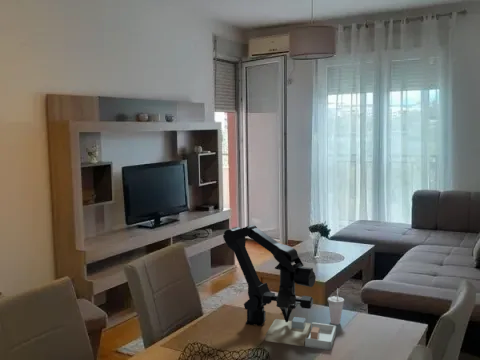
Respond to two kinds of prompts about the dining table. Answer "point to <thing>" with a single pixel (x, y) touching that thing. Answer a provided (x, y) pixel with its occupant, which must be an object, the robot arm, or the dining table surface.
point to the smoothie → (335, 308)
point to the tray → (322, 337)
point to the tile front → (315, 333)
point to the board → (287, 333)
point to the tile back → (298, 322)
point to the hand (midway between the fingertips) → (286, 321)
